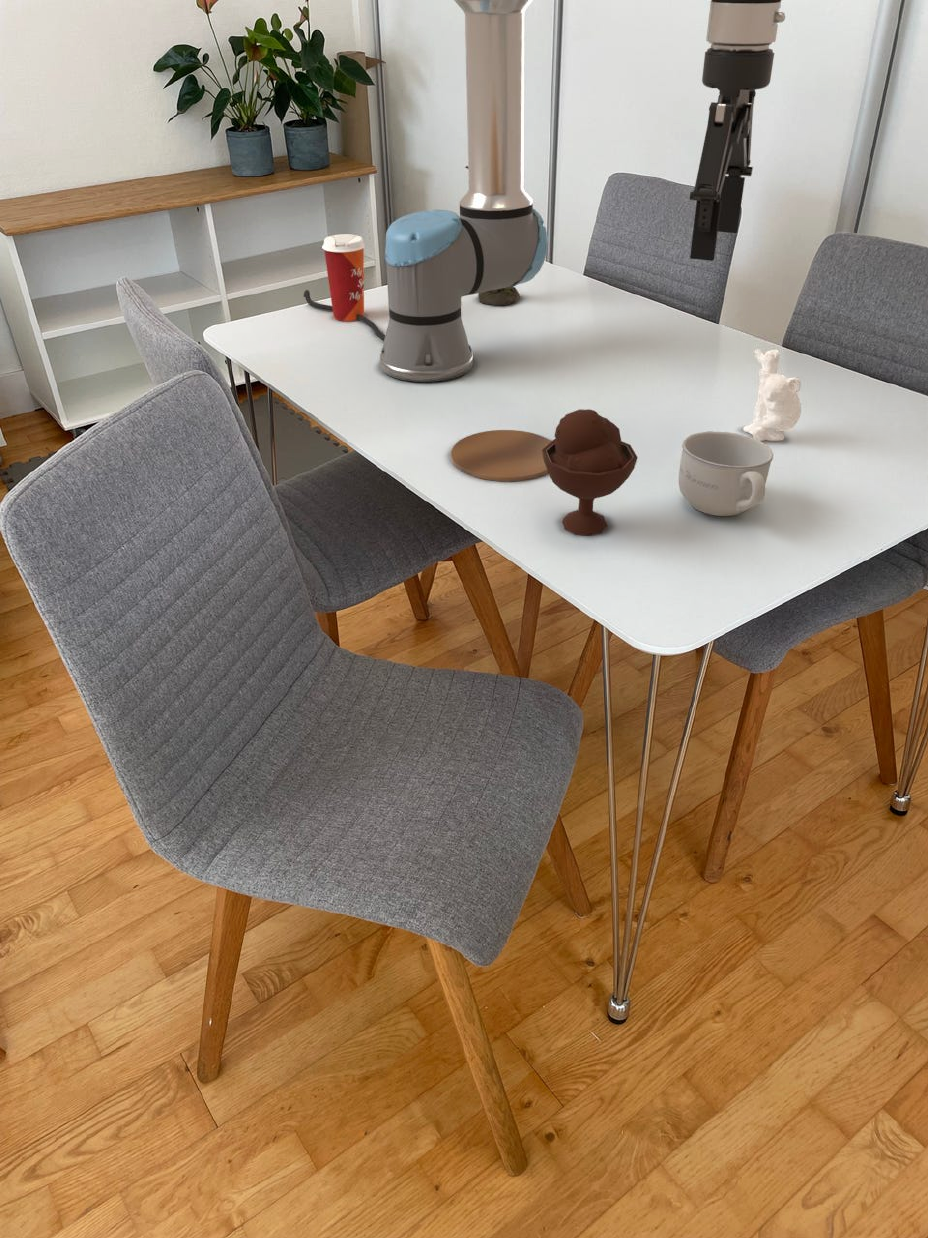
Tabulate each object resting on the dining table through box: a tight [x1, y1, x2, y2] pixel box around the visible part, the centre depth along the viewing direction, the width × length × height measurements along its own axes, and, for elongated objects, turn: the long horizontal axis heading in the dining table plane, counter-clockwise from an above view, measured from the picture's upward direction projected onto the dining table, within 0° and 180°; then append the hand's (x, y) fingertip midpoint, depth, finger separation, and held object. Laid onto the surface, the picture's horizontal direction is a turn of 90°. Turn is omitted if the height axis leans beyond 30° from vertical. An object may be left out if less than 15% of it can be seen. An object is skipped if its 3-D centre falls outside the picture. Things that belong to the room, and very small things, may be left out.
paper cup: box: [321, 233, 366, 322], centre depth 183 cm, size 8×8×14 cm
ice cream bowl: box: [542, 409, 639, 537], centre depth 118 cm, size 11×11×15 cm
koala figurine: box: [742, 348, 802, 442], centre depth 139 cm, size 8×7×12 cm
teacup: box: [678, 430, 774, 517], centre depth 123 cm, size 14×11×8 cm
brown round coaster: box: [450, 429, 553, 482], centre depth 138 cm, size 15×15×1 cm
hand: (714, 244), depth 124 cm, fingers open, 13 cm apart
